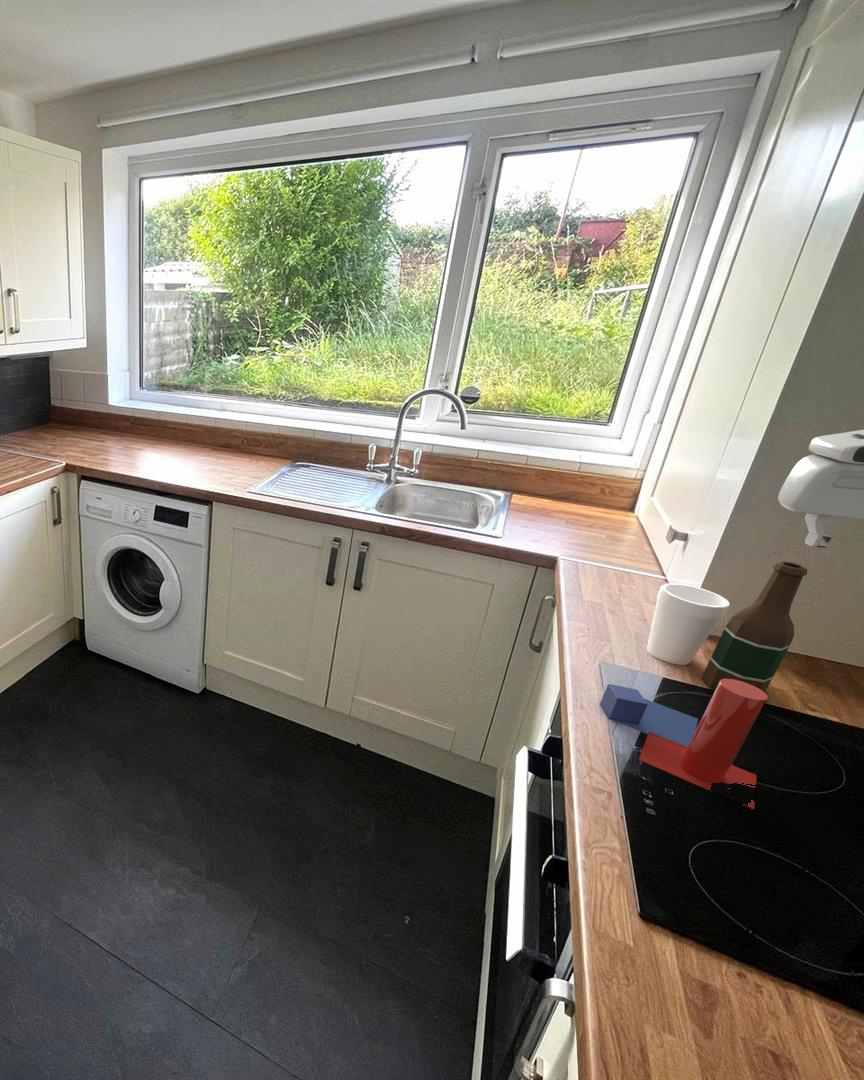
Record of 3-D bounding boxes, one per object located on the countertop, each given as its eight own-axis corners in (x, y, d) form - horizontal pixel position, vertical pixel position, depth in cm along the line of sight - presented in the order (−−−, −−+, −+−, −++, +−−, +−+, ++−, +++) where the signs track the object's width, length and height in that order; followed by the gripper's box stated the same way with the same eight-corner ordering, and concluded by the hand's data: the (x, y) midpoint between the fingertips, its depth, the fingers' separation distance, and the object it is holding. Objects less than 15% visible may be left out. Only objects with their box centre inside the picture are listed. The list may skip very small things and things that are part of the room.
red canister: (724, 771, 82) (768, 689, 77) (721, 788, 79) (767, 704, 74) (681, 754, 85) (721, 674, 80) (678, 769, 82) (718, 687, 77)
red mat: (755, 777, 82) (756, 775, 81) (752, 812, 76) (754, 809, 76) (647, 733, 90) (648, 731, 89) (638, 761, 84) (638, 759, 84)
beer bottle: (729, 676, 104) (789, 555, 95) (774, 704, 97) (844, 576, 88) (688, 676, 104) (744, 554, 95) (729, 704, 97) (795, 575, 88)
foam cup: (624, 645, 113) (649, 586, 108) (657, 639, 116) (682, 580, 111) (678, 673, 105) (707, 610, 100) (712, 665, 108) (742, 604, 103)
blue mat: (697, 720, 93) (698, 718, 93) (689, 753, 86) (690, 751, 85) (620, 691, 99) (621, 689, 99) (607, 719, 92) (608, 717, 92)
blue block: (628, 709, 94) (637, 689, 93) (638, 725, 91) (648, 704, 89) (599, 703, 95) (608, 683, 94) (608, 718, 92) (617, 698, 90)
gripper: (1005, 454, 72) (943, 555, 78) (797, 437, 78) (752, 532, 84) (1058, 466, 67) (987, 574, 72) (829, 446, 73) (779, 547, 78)
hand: (859, 551), depth 78 cm, fingers open, 8 cm apart
